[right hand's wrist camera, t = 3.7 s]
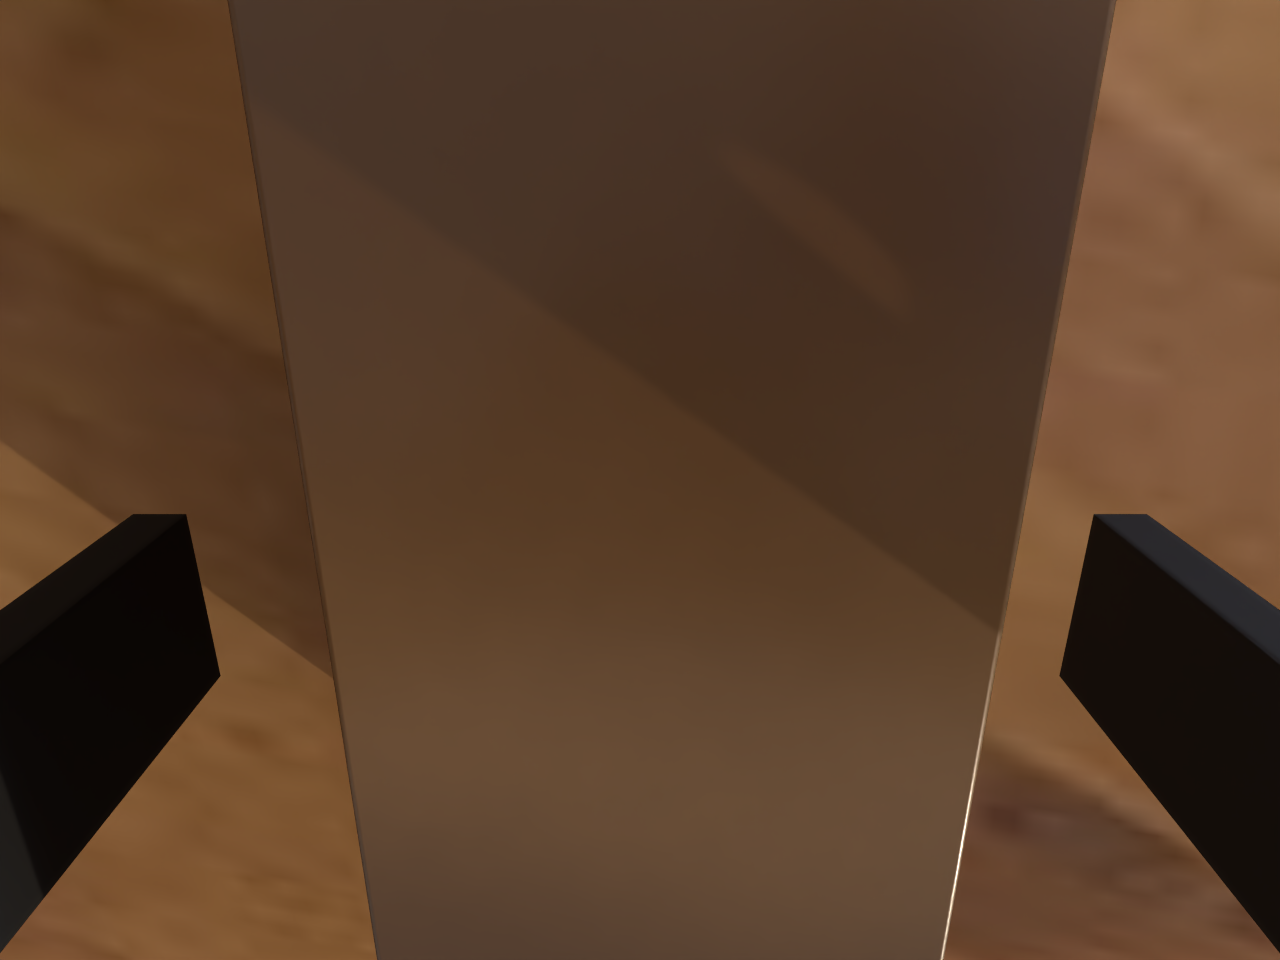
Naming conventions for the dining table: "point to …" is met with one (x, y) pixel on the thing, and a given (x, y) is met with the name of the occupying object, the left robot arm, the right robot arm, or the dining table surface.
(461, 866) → the post
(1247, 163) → the dining table surface
